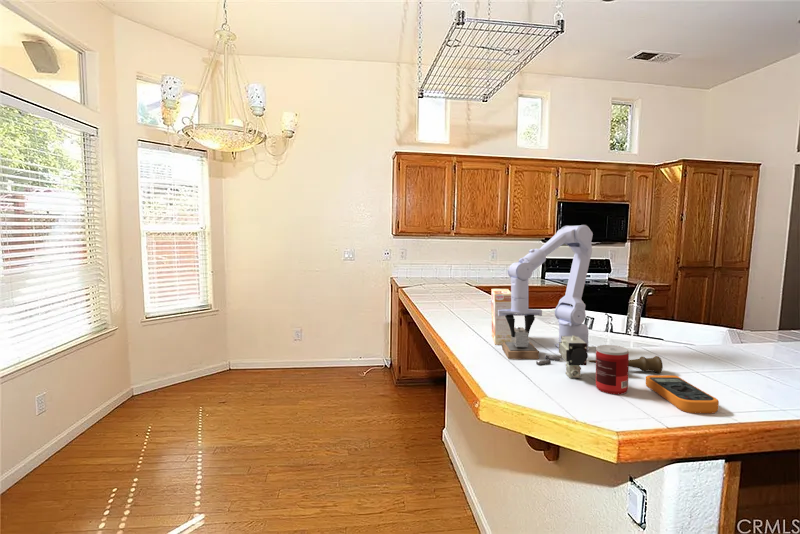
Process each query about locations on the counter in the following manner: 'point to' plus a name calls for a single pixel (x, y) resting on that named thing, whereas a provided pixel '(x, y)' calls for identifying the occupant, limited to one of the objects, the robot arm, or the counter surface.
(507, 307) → the coffeecake box
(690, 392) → the multimeter
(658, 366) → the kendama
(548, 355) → the bolt
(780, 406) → the counter surface
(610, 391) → the canned food
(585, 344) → the pneumatic valve
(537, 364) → the bolt
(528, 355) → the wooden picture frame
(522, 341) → the block
